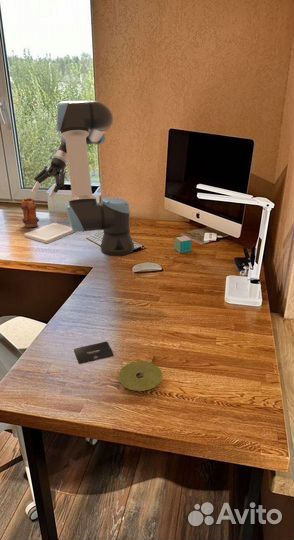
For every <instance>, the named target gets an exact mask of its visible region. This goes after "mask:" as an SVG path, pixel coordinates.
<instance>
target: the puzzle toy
mask: <svg viewBox="0 0 294 540" xmlns="http://www.w3.org/2000/svg"><path fill="white" fill-rule="evenodd" d="M192 241H193V240H192V239H191V238H190V237H188V236H186V235H184V236H178V237H175V238H174V250H175V251H177V252H178V253H180V254H184V253H185V254H186V253H189V252H192V245H193V244H192V243H193V242H192Z"/></svg>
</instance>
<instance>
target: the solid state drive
mask: <svg viewBox="0 0 294 540" xmlns="http://www.w3.org/2000/svg"><path fill="white" fill-rule="evenodd" d="M73 351H74V354H75V357H76V360H77V362H78V364H79V365H82V364H87V363H89V362H94V361H98V360H102V359H106V358H111V357H114V352H113V350H112V348H111V347H110V344H109V342H108V341H103V342H98V343H93V344H89V345H85V346H80V347H76V348H74V349H73Z"/></svg>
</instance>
